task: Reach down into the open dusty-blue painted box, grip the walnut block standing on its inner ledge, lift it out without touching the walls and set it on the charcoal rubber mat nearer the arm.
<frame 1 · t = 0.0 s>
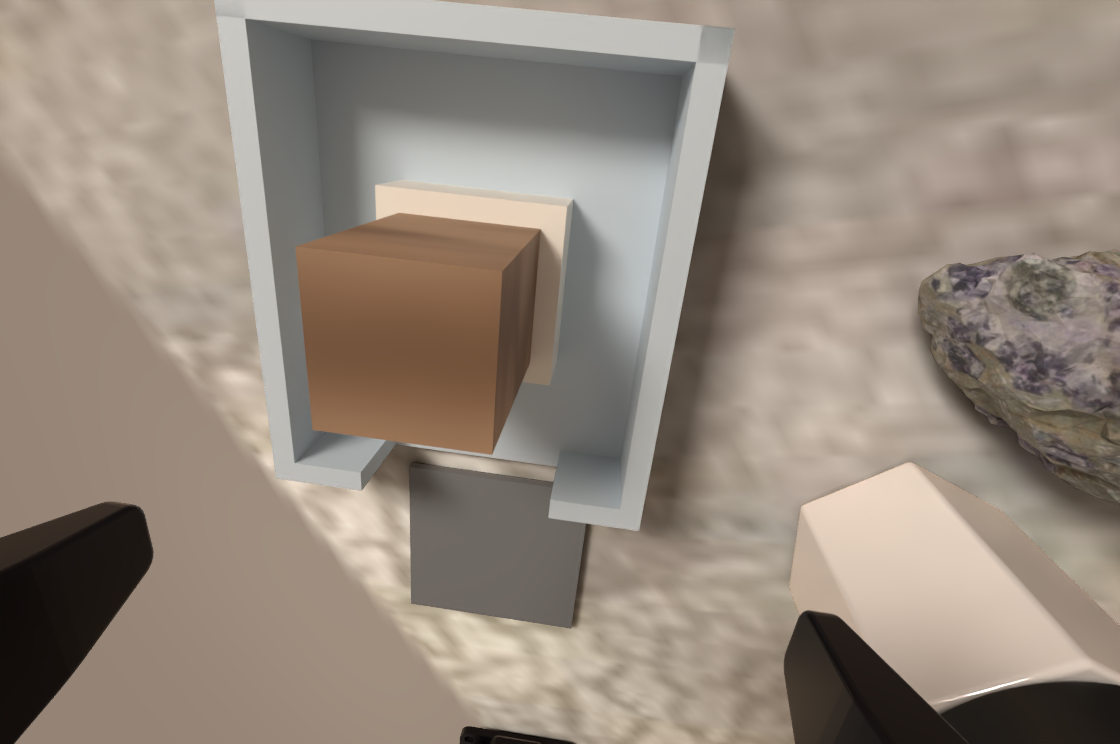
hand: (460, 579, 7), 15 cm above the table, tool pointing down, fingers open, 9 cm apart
access box: (487, 271, 21), on the table
rubber mat: (496, 546, 26), on the table
walnut block: (467, 290, 18), point 3 cm above the table, touching access box
mineral rock: (1090, 340, 20), on the table
jar: (885, 545, 24), on the table
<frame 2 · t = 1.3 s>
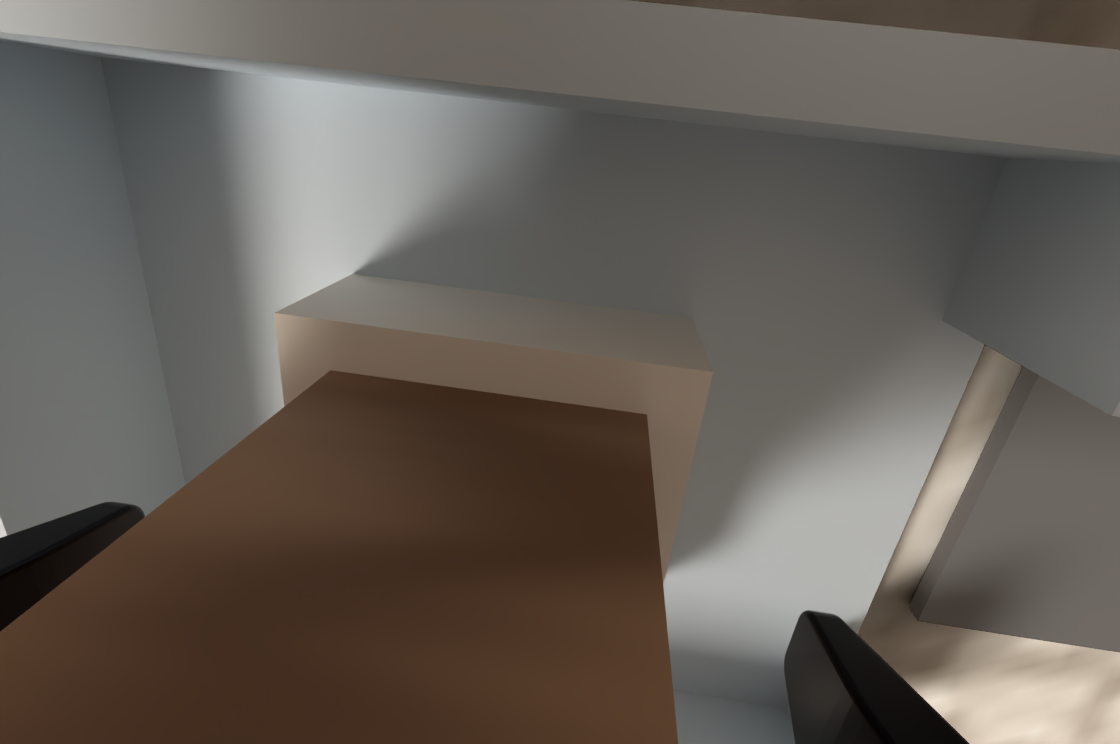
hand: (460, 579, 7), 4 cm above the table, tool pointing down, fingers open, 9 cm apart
access box: (513, 429, 11), on the table
walnut block: (478, 521, 9), point 3 cm above the table, touching access box
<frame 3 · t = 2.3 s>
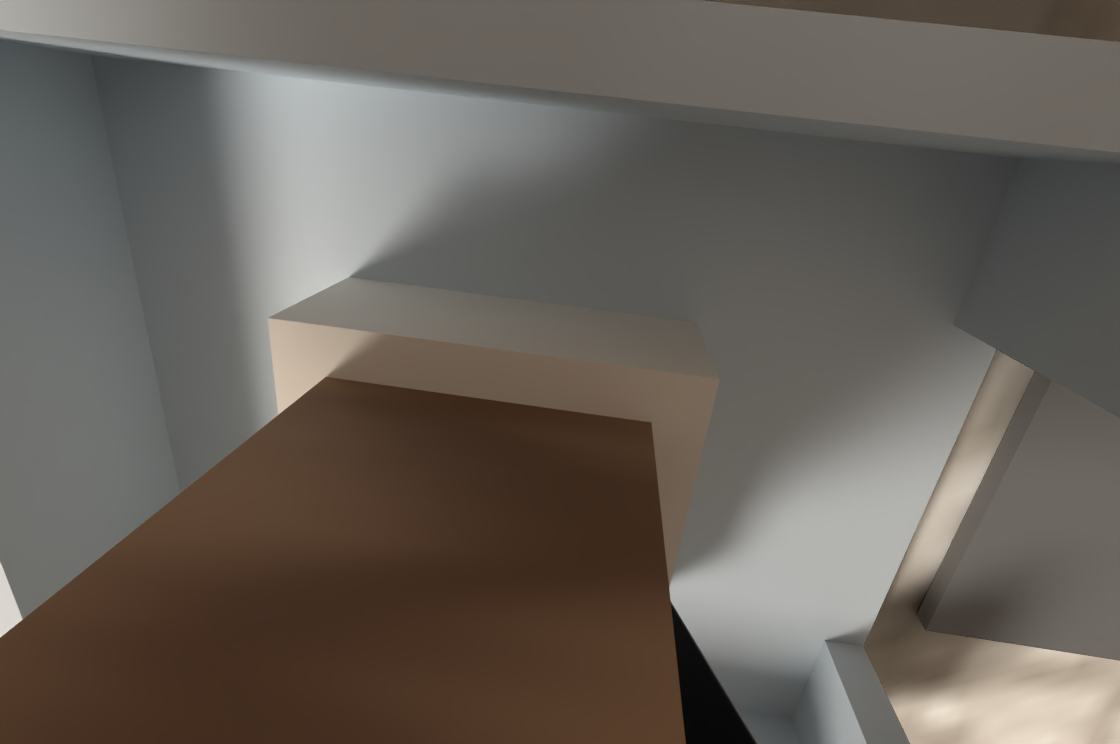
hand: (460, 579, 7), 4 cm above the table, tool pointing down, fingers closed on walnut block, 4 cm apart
access box: (513, 434, 11), on the table
walnut block: (478, 531, 8), point 3 cm above the table, touching access box, gripper
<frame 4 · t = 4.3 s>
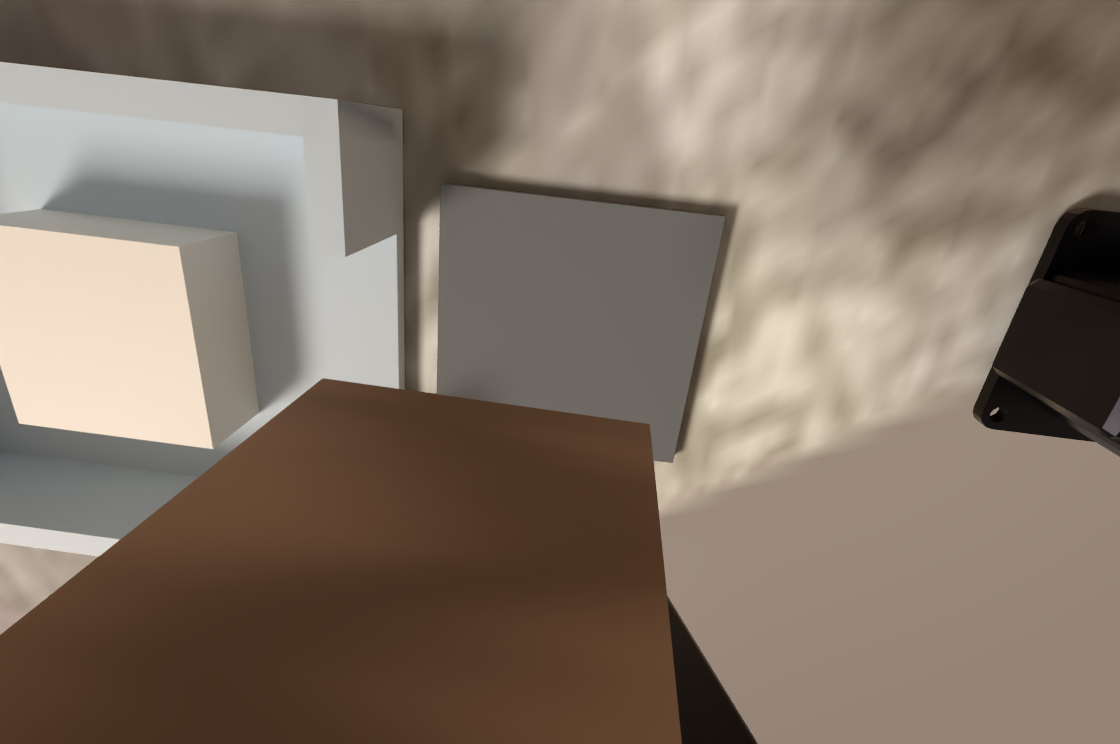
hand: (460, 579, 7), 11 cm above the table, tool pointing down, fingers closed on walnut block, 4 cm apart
access box: (170, 311, 18), on the table
rubber mat: (567, 331, 17), on the table
walnut block: (476, 533, 8), point 10 cm above the table, touching gripper
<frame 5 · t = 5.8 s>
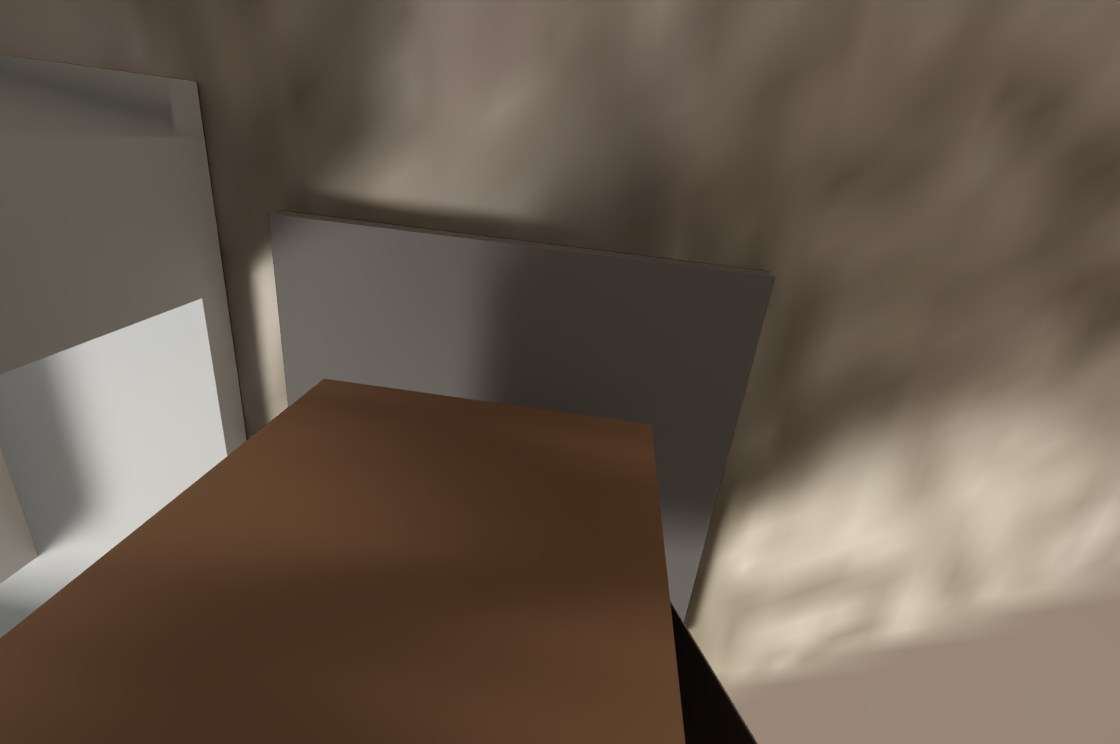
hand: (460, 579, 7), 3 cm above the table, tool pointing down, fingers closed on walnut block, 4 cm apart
rubber mat: (504, 451, 11), on the table
walnut block: (477, 533, 8), point 2 cm above the table, touching gripper
when the fingers open (3 cm above the table, at t = 6.6 s): walnut block drops 2 cm, resting on rubber mat.
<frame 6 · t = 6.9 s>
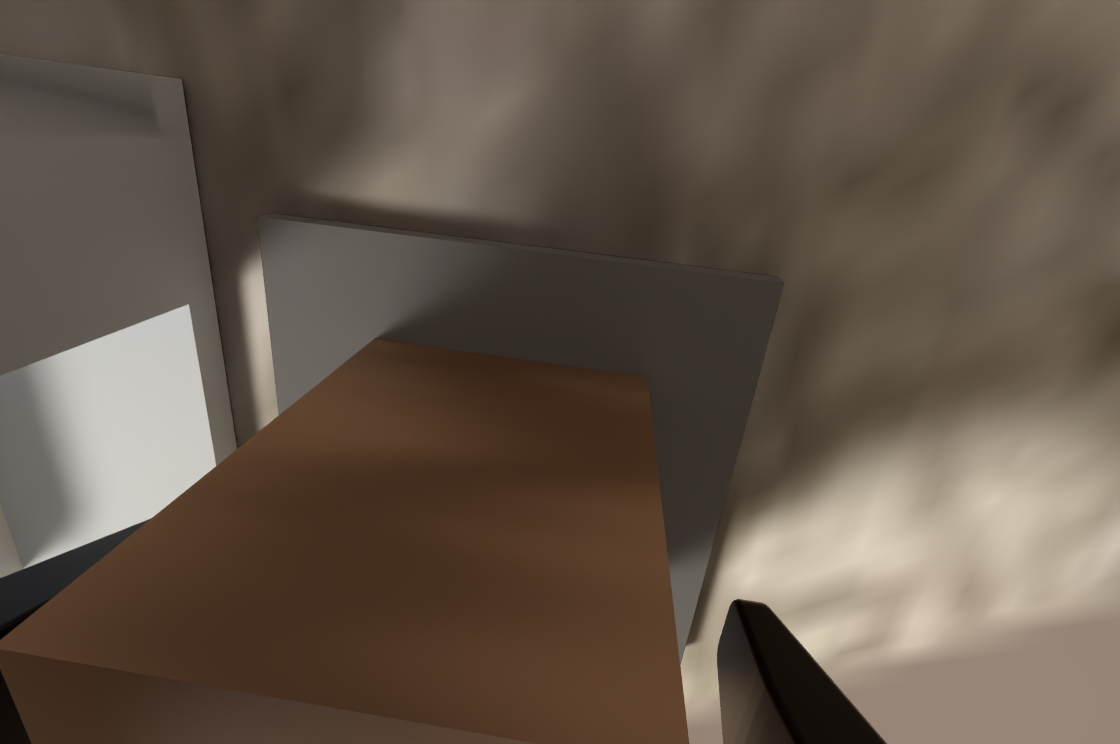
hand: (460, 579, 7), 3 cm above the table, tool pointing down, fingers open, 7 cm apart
rubber mat: (502, 461, 10), on the table
walnut block: (500, 473, 10), resting on rubber mat
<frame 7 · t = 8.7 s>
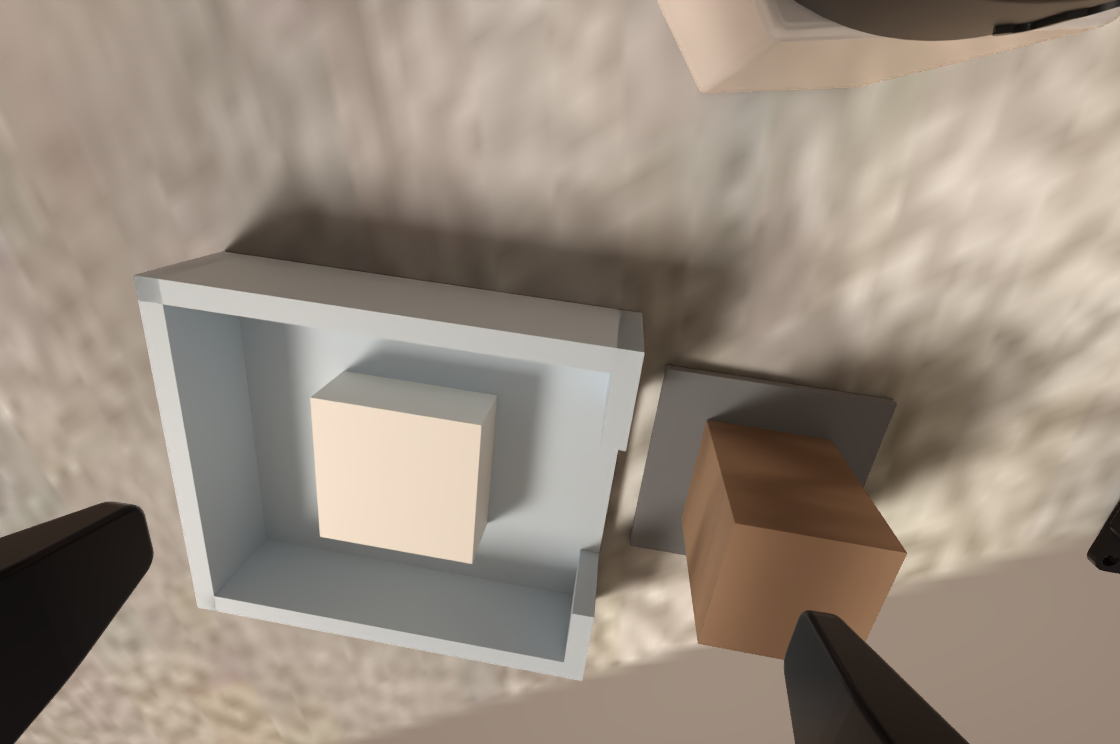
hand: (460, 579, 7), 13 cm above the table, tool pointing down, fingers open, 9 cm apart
access box: (423, 443, 23), on the table
rubber mat: (749, 475, 21), on the table
walnut block: (752, 481, 21), resting on rubber mat
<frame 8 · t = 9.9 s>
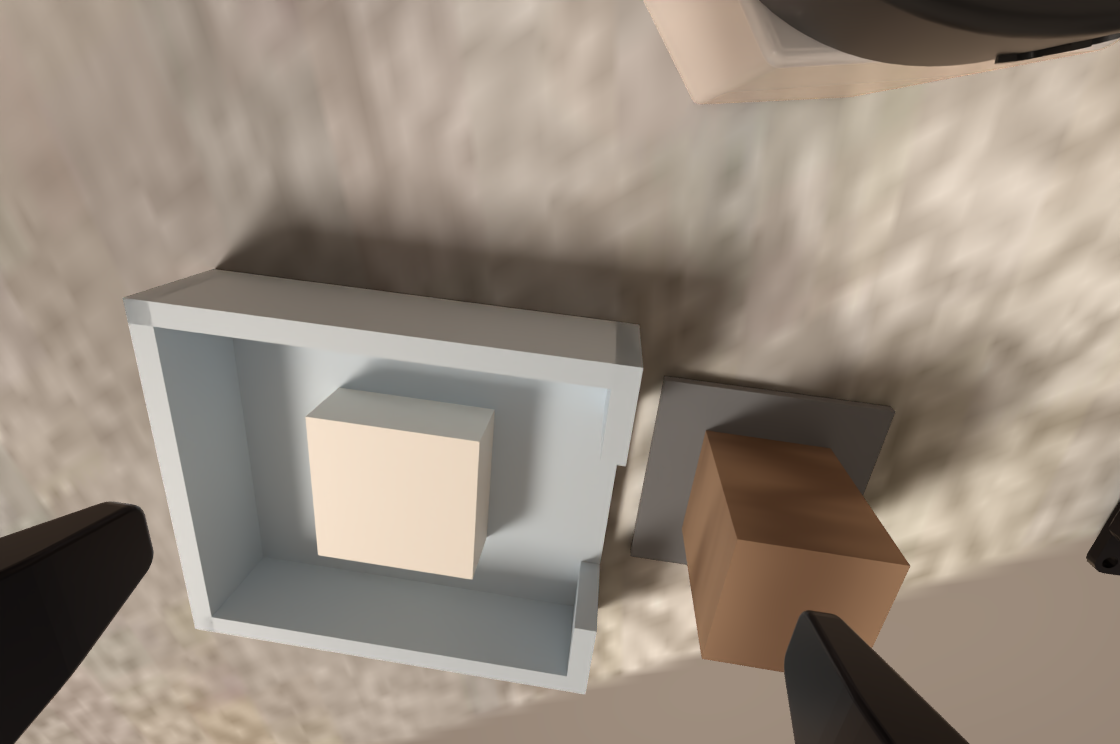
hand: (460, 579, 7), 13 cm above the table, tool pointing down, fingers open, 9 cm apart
access box: (421, 457, 22), on the table
rubber mat: (749, 484, 21), on the table
walnut block: (752, 490, 21), resting on rubber mat
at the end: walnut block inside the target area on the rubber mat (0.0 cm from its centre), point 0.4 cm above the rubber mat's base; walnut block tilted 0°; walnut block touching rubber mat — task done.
